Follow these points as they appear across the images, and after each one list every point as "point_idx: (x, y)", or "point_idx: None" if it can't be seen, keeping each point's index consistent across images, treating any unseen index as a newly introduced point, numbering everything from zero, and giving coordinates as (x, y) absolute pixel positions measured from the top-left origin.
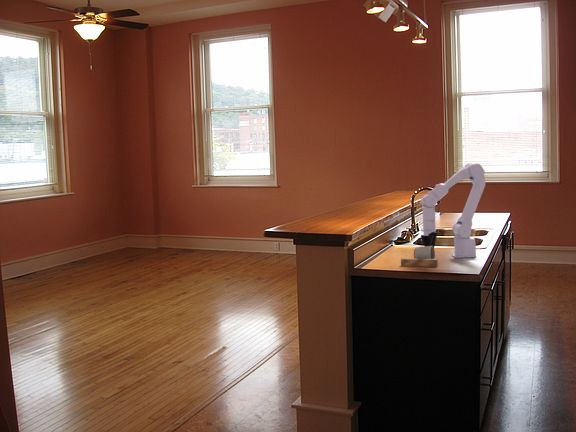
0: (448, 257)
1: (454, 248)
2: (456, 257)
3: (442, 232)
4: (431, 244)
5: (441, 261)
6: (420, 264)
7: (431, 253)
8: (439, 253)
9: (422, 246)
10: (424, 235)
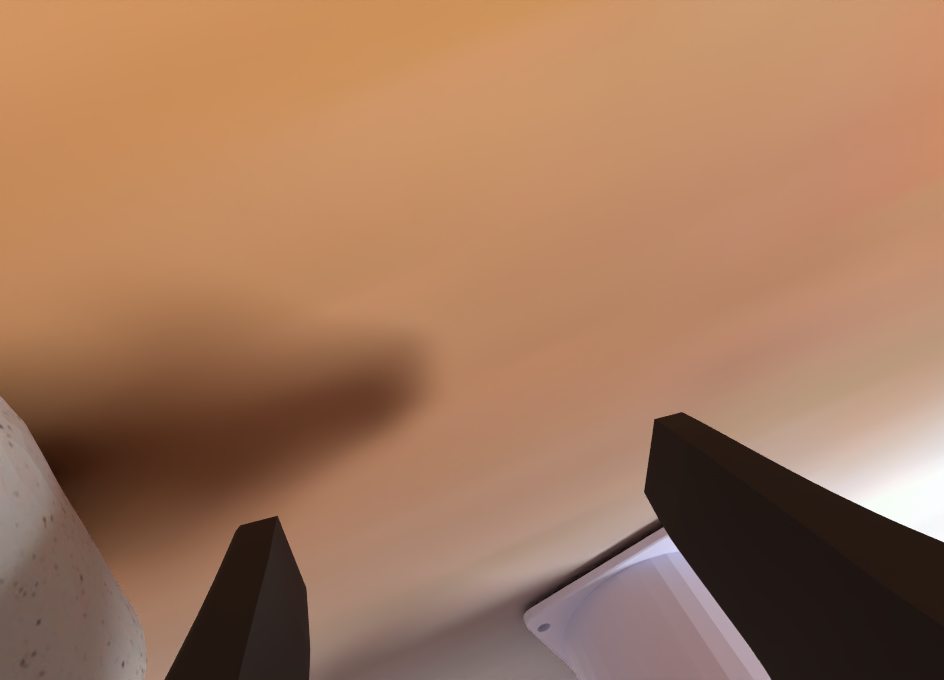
0: (568, 526)
1: (681, 656)
2: (524, 619)
3: None
4: (703, 515)
5: None
6: None
7: (101, 661)
8: (884, 300)
9: None
10: None
